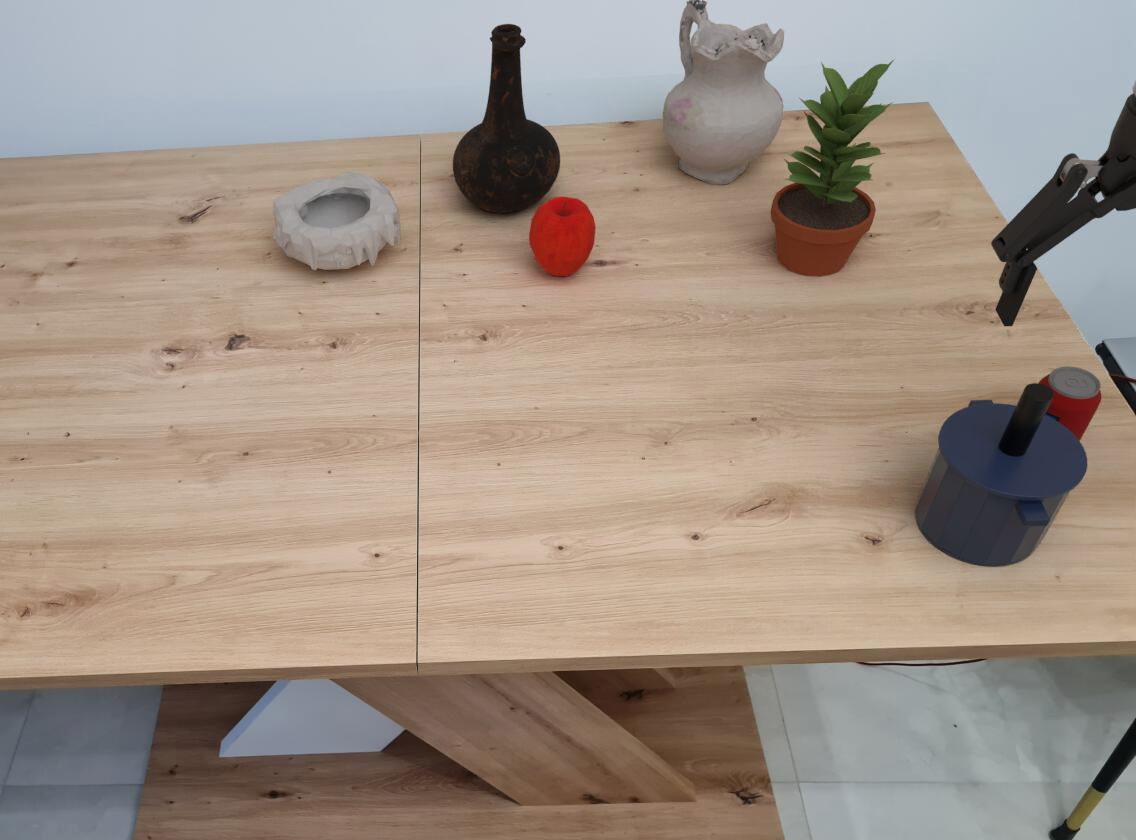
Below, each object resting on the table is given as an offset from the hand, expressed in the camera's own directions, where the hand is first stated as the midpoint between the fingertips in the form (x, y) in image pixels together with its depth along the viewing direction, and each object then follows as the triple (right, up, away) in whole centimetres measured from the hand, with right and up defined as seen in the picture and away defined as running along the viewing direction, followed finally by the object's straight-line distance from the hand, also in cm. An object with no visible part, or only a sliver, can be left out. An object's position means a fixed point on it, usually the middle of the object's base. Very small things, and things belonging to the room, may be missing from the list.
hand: (1076, 315), depth 101 cm
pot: (+2, -20, +22) cm, 30 cm away
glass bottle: (-49, +36, +77) cm, 98 cm away
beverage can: (+13, -11, +29) cm, 34 cm away
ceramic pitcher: (-13, +44, +80) cm, 92 cm away
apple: (-41, +20, +62) cm, 77 cm away
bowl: (-76, +25, +69) cm, 106 cm away
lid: (+1, -12, +14) cm, 18 cm away
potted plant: (-4, +21, +59) cm, 63 cm away
